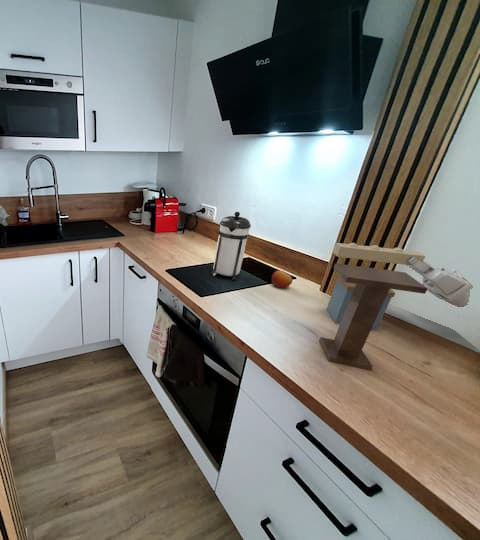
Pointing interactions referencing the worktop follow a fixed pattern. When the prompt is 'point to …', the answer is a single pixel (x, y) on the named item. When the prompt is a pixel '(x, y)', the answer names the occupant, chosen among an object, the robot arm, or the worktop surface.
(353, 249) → the egg box
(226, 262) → the coffee press
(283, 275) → the fruit
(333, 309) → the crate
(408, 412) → the worktop surface
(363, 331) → the wooden pedestal stand
